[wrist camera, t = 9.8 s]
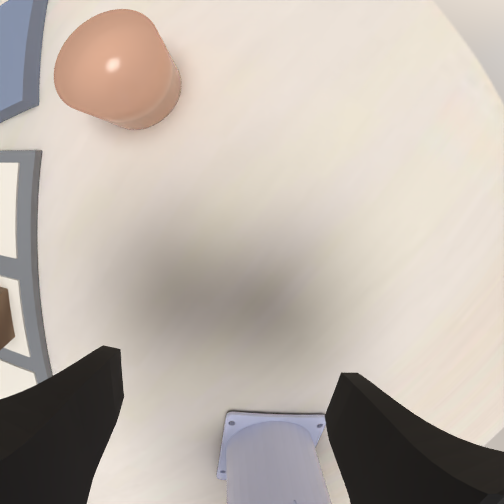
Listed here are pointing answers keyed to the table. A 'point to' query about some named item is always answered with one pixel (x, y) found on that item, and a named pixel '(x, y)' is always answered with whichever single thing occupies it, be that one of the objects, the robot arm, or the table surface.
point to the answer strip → (21, 273)
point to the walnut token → (5, 319)
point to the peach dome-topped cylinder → (118, 70)
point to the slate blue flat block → (20, 55)
